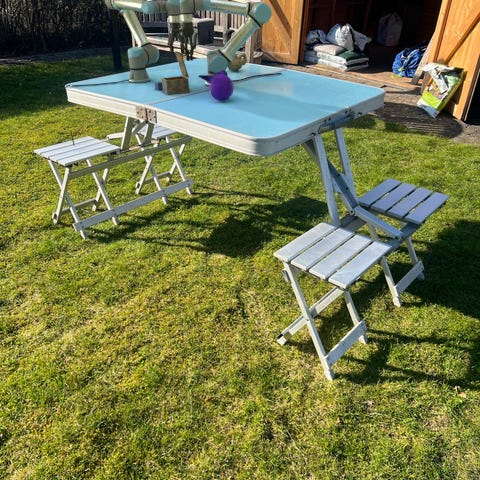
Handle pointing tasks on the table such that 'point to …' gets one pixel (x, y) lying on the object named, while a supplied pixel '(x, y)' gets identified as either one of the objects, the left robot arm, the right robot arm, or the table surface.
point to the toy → (219, 85)
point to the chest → (175, 85)
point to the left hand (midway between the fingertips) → (177, 54)
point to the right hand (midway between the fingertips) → (189, 60)
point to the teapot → (237, 62)
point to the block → (158, 86)
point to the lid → (182, 62)
